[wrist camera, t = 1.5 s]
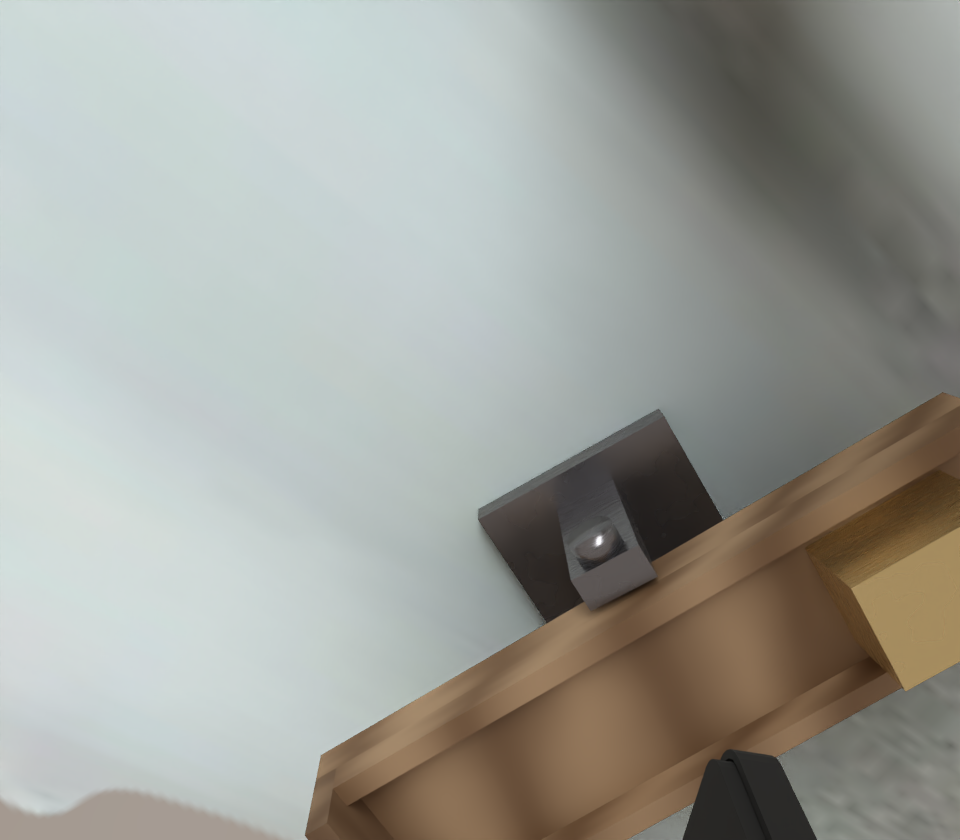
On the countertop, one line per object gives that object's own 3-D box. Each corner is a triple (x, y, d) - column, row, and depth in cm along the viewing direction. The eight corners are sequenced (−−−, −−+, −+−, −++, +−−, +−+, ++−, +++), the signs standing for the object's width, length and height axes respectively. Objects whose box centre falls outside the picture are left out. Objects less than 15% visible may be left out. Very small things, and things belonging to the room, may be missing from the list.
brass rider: (939, 470, 30) (1004, 501, 27) (985, 568, 31) (1053, 610, 28) (804, 547, 31) (850, 588, 27) (855, 641, 32) (905, 691, 28)
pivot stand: (658, 408, 36) (702, 469, 29) (800, 658, 40) (872, 770, 33) (478, 509, 38) (474, 592, 30) (632, 739, 42) (662, 864, 34)
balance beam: (942, 392, 31) (1026, 420, 27) (1020, 564, 33) (1110, 616, 29) (320, 755, 33) (304, 835, 29) (433, 893, 36) (433, 986, 31)
